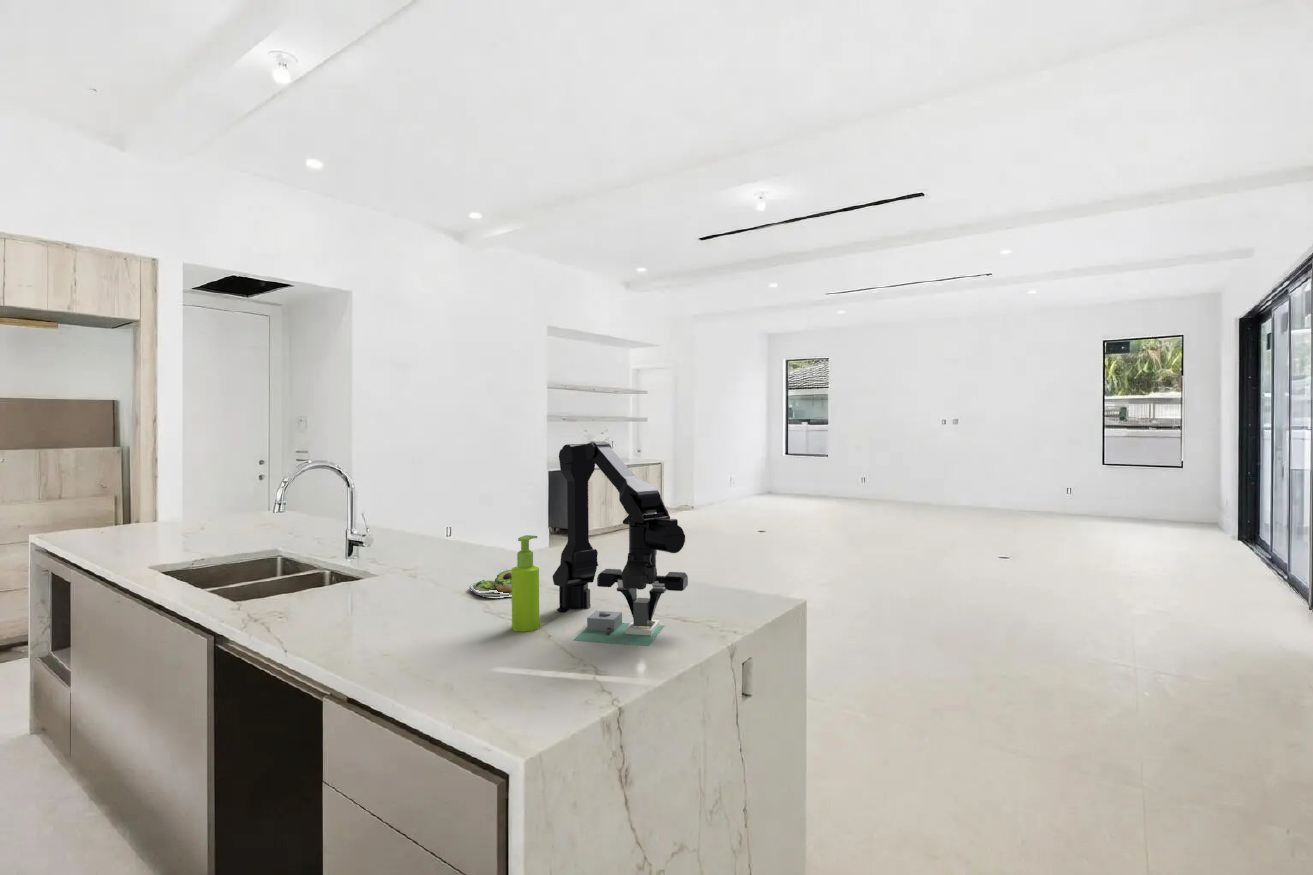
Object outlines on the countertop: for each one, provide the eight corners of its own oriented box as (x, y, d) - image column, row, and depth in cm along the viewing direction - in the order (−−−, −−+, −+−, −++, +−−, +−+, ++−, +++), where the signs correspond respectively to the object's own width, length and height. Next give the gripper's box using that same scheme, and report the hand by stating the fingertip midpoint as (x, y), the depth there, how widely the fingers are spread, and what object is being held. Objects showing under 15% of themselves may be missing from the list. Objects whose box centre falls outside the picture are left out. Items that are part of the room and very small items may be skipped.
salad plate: (551, 596, 181) (551, 579, 181) (482, 605, 173) (482, 587, 173) (528, 582, 198) (528, 565, 198) (465, 589, 190) (465, 572, 190)
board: (572, 644, 141) (572, 625, 141) (595, 624, 155) (595, 607, 155) (648, 649, 137) (648, 631, 137) (665, 628, 151) (665, 611, 151)
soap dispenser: (546, 623, 156) (545, 534, 155) (530, 632, 149) (530, 539, 149) (523, 621, 158) (522, 533, 157) (506, 630, 151) (506, 538, 151)
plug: (633, 625, 147) (633, 602, 147) (639, 619, 152) (639, 596, 152) (647, 626, 146) (647, 603, 146) (652, 620, 151) (652, 597, 151)
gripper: (588, 551, 143) (588, 627, 143) (677, 555, 138) (677, 633, 139) (605, 542, 153) (605, 613, 154) (688, 545, 149) (688, 618, 149)
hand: (642, 619), depth 149 cm, fingers closed on plug, 3 cm apart
